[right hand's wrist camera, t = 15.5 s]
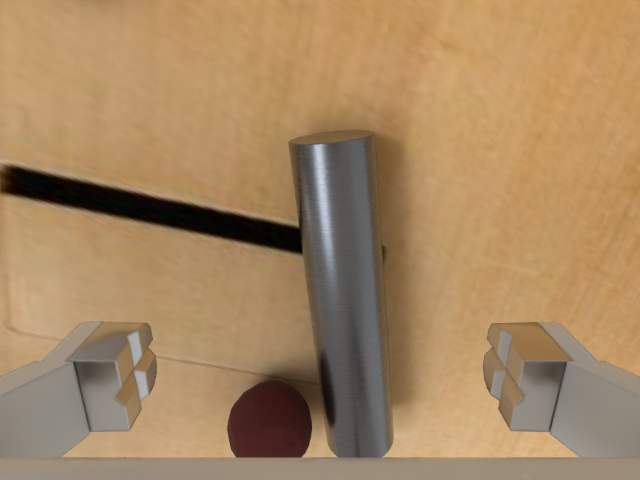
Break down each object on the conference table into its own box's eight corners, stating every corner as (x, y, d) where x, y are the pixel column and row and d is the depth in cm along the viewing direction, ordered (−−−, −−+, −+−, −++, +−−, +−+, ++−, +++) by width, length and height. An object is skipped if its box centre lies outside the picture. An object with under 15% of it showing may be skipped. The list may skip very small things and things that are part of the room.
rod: (273, 141, 32) (318, 146, 27) (340, 129, 35) (393, 131, 30) (314, 432, 41) (354, 476, 36) (365, 403, 44) (407, 439, 39)
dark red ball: (321, 417, 43) (322, 479, 36) (248, 435, 44) (235, 499, 37) (299, 358, 40) (295, 412, 34) (222, 378, 41) (203, 435, 35)
